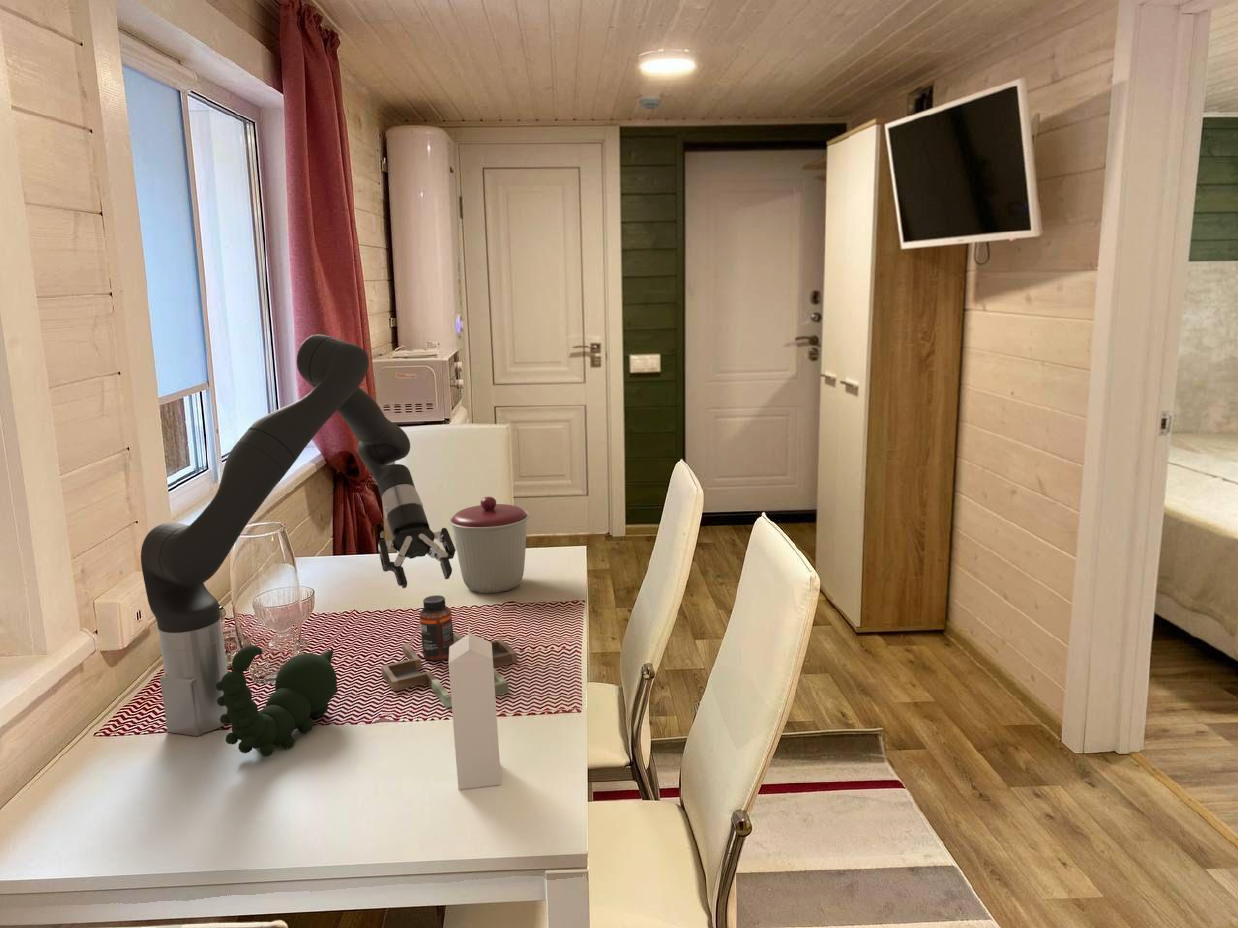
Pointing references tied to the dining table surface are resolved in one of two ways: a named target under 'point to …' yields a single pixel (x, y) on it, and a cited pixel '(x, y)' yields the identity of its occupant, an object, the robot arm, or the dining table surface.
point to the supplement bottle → (436, 628)
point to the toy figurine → (276, 700)
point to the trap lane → (409, 676)
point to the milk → (474, 712)
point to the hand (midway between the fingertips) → (426, 581)
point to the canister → (491, 545)
